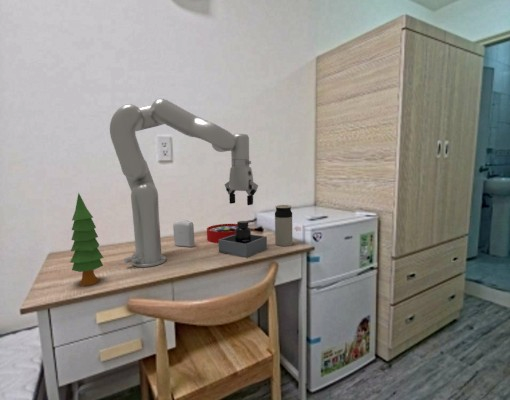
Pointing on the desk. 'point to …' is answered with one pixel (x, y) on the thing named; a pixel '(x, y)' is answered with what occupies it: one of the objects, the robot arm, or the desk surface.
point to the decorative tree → (85, 244)
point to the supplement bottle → (242, 232)
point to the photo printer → (184, 233)
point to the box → (242, 246)
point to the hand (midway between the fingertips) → (241, 204)
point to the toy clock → (220, 232)
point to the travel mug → (283, 225)
